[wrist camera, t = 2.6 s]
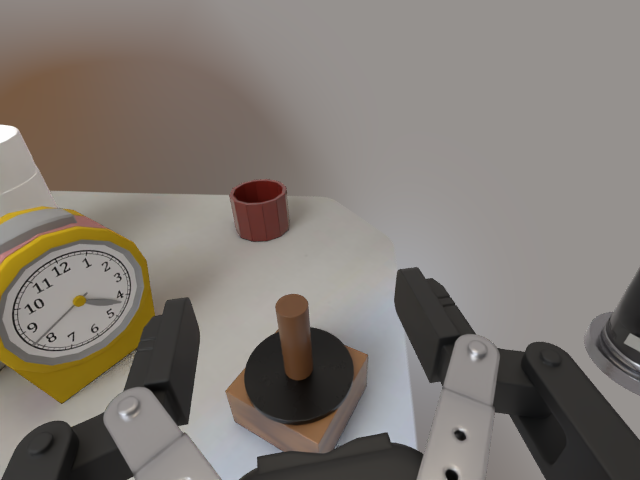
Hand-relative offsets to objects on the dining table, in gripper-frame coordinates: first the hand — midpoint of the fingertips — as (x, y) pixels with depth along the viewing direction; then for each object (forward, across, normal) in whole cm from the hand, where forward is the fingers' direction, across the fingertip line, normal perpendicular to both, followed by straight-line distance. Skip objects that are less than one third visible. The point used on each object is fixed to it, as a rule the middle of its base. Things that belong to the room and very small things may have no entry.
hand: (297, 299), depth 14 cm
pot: (+46, +3, +24) cm, 51 cm away
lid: (+11, 0, +19) cm, 22 cm away
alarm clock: (+22, +23, +24) cm, 40 cm away
